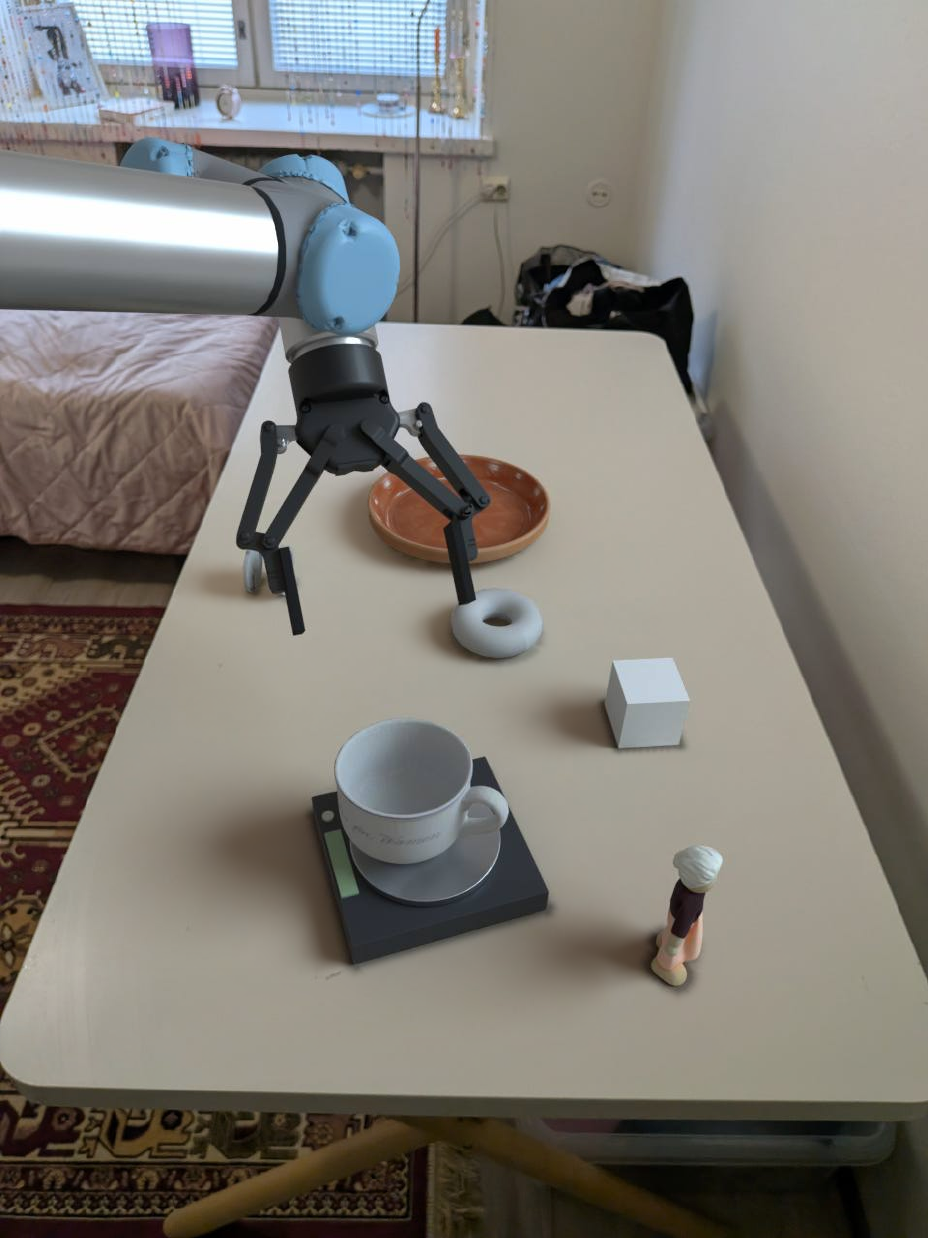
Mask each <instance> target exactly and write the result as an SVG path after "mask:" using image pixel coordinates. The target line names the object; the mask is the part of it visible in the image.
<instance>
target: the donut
mask: <svg viewBox="0 0 928 1238" xmlns="http://www.w3.org/2000/svg"><path fill="white" fill-rule="evenodd" d="M475 596H476V600H475V601H473V602H471V603H469V604H466V605H460V606H459V603H457V604H456V605H455V606H454V608H453V610H452V613H451V614H452V615H451V619H450V625H451V626H450V627H451V629H452V633H453V635H454V637H455V638H456V639H457V642H459V643H460V645H461V646H462V647H463V648H465V649H467V650H469V651H470V652H471V653H474V654H477V655H480V656H482V657H485V658H493V659H503V658H513V657H515V656H518V655H521V654H524V653H525V652H527V651H528V650H530V649H531V648H532V647H534V646H535V645H536V643H537V642H538V640H539V639H540V637H541V636H542V633H543V626H544V625H543V624H544V621H543V617H542V613H541V611H540V609H539V608H538V606H537V605H536V604H535V603H534V601H532V600H531V598H528V597H527V596H525V595H523V594H522V593H520V592H517V591H513V590H511V589H506V588H496V587H493V588H484V589H480V590H476V591H475ZM490 619H499V620H503V621H506V622H509V624H508V625H503V626H495V625H490V624H488V623H486V622H484V621H486V620H490Z"/></svg>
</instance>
